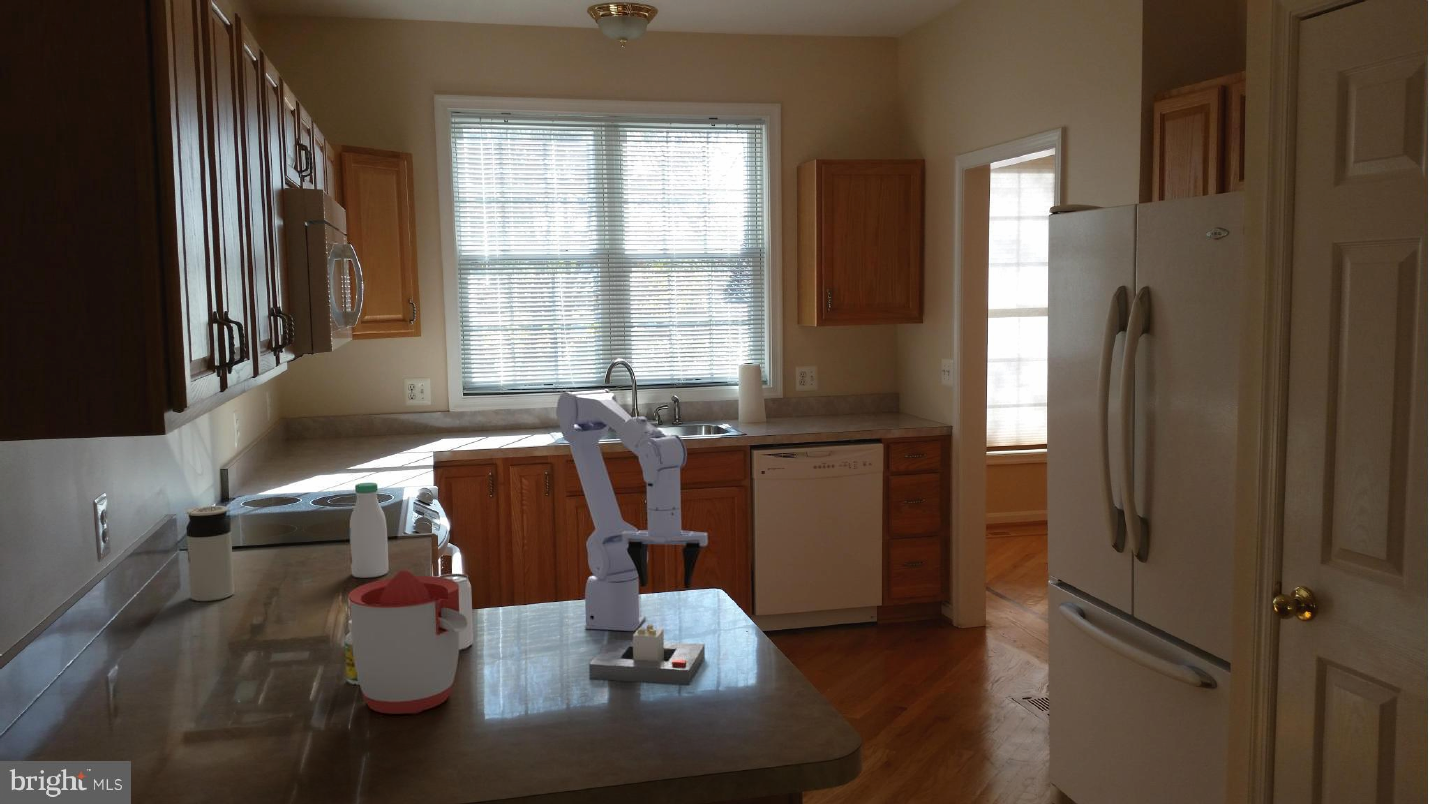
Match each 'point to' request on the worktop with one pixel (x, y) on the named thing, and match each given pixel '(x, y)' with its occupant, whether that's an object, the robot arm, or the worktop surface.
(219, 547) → the travel mug
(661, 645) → the plug
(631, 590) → the robot arm
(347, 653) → the supplement bottle
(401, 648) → the citrus juicer
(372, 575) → the milk bottle
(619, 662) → the socket plate
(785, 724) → the worktop surface
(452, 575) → the can
